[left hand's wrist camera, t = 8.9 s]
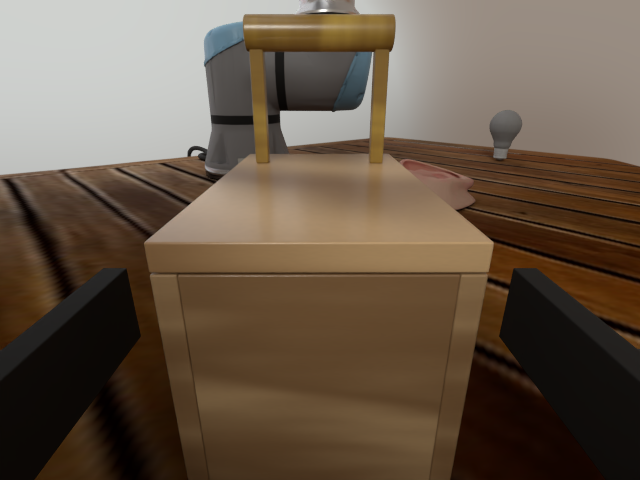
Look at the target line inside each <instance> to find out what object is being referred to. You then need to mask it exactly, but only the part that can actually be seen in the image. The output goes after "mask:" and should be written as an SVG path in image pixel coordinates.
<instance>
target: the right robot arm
mask: <svg viewBox="0 0 640 480" xmlns="http://www.w3.org/2000/svg"><path fill="white" fill-rule="evenodd" d="M354 2H355V0H300V7H299V9H298V10H297V12H296V13H295V14H359V12H358V11H357V10H356V9H355V7H354ZM204 50H205V61H204V66H205V68H206V77H207V86H208V95H209V104H210V113H211V123H212V132H211V136H210V141H209V146H208V150H207V149H205V148H202V147H199V146H193V147H191V148H190V149H189V150H188V153H187V157H191V153H192V151H193V150H200V151H203V152H204V153H200V154H199V155H198V157H199V158H200V159H203V160H205V170H206V175H207V176H209V177H211V178H215V179H221V178H222V177H223V176H224V175H226V174H227V173H228V172H229V171H230V170H232V169H233V168H234V167H235V166H236V165H238V164H239V163H240V162H241V161H242V160H244V159H245V158H246V157H247V156H248V155H250V154H256V152H255V136H254V120H253V104H252V88H251V73H250V57H249V52H248V51H247V50H246V47H245V43H244V36H243V22H236V23H231V24H226V25H222V26H219V27H216V28H214V29H212V30H211V31H209V32H208V33H207V35H206V36H205V39H204ZM371 56H372V52H265V70H266V90H267V110H268V131H269V151H270V154H289V152H288V149H287V146H286V143H285V140H284V137H283V134H282V131H281V128H280V111H332V112H335V111H340V110H353V109H356V108H357V107H358V106H359V105H360V104H361V102H362V100H363V97H364V94H365V89H366V85H367V80H368V75H369V69H370V63H371Z"/></svg>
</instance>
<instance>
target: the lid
mask: <svg viewBox="0 0 640 480" xmlns="http://www.w3.org/2000/svg"><path fill="white" fill-rule="evenodd" d="M243 36H244V43H245V47H246V50H247V51H248V52H249V57H250V73H251V88H252V104H253V120H254V136H255V152H256V154H250V155H248V156H247V157H246V158H245V159H244V160H242V161H241V162H240V163H239V164H238V165H236V166H235V167H234V168H233V169H232V170H230V171H229V172H228V173H227V174H226V175H224V176H223V177H222V178H221V179H220V180H218V181H217V182H216V183H215V184H214V185H213V186H211V187H210V188H209V189H208V190H207V191H205V192H204V193H203V194H202V195H201V196H199V197H198V198H197V199H196V200H195V201H193V202H192V203H191V204H190V205H189V206H187V207H186V208H185V209H184V210H183V211H181V212H180V213H179V214H178V215H177V216H175V217H174V218H173V219H172V220H171V221H169V222H168V223H167V224H166V225H165V226H163V227H162V228H161V229H160V230H159V231H158V232H156V233H155V234H154V235H153V236H152V237H150V238H149V239H148V240H147V241H146V242H144V247H145V252H146V257H147V263H148V268H149V272H150V273H487V272H489V267H490V262H491V256H492V251H493V245H494V243H493V242H492V241H491V240H490V239H489V238H488V237H487V236H485V235H484V234H483V233H482V232H481V231H479V230H478V229H477V228H476V227H475V226H473V225H472V224H471V223H470V222H469V221H468V220H466V219H465V218H464V217H463V216H462V215H460V214H459V213H458V212H457V211H456V210H454V209H453V208H452V207H451V206H450V205H449V204H447V203H446V202H445V201H444V200H443V199H441V198H440V197H439V196H438V195H437V194H435V193H434V192H433V191H432V190H431V189H430V188H428V187H427V186H426V185H425V184H424V183H422V182H421V181H420V180H419V179H418V178H416V177H415V176H414V175H413V174H412V173H411V172H409V171H408V170H407V169H406V168H405V167H403V166H402V165H401V164H400V163H399V162H397V161H396V160H395V159H394V158H393V157H392V156H390V155H389V154H383V146H384V130H385V114H386V97H387V81H388V64H389V52H391V50H392V48H393V45H394V39H395V16H394V15H393V14H245V15H244V17H243ZM265 52H374V56H373V78H372V99H371V120H370V141H369V154H270V151H269V131H268V110H267V90H266V70H265Z"/></svg>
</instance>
